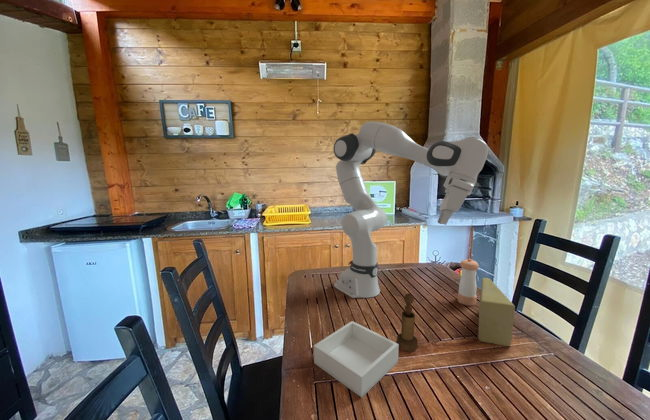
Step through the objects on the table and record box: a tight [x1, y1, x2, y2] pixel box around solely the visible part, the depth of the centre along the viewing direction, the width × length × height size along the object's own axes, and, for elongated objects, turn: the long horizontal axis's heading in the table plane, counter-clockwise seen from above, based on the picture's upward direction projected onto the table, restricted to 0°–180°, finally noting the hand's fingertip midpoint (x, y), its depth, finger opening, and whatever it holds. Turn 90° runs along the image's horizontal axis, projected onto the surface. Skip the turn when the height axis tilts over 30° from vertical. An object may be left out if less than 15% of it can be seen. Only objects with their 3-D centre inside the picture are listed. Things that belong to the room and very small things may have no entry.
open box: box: [313, 320, 400, 398], centre depth 84 cm, size 18×18×6 cm
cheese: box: [477, 277, 516, 347], centre depth 101 cm, size 22×10×15 cm, turn 160°
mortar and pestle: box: [396, 293, 418, 353], centre depth 91 cm, size 7×6×18 cm
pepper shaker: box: [456, 258, 480, 307], centre depth 118 cm, size 7×7×19 cm
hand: (441, 223), depth 94 cm, fingers open, 8 cm apart
